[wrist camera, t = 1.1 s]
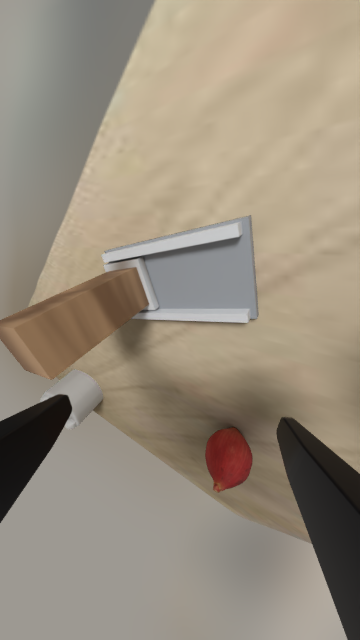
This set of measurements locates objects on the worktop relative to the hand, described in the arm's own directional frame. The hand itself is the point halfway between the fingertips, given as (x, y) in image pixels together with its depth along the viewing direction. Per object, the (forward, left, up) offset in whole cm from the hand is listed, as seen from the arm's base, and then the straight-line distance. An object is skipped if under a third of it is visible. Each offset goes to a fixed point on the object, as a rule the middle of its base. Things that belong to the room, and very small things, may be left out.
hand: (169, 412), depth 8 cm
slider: (+5, -4, -12) cm, 14 cm away
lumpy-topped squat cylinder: (+46, +6, -13) cm, 48 cm away
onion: (+11, +18, -12) cm, 25 cm away
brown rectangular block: (+10, -6, -12) cm, 17 cm away
